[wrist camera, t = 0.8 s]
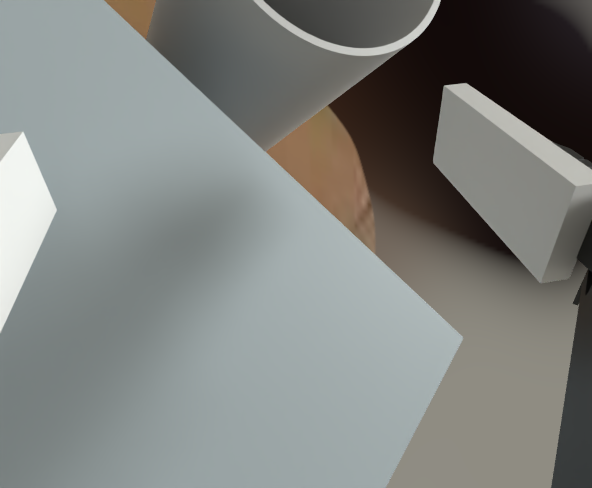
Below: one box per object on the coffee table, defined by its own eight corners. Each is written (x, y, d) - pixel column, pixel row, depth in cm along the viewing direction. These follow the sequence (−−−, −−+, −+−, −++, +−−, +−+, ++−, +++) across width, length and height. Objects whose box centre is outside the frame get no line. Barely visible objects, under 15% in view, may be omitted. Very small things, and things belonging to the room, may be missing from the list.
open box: (-131, 265, 32) (-590, 211, 10) (33, 117, 37) (-39, -133, 15) (172, 460, 39) (287, 676, 17) (274, 314, 44) (463, 337, 22)
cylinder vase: (182, 20, 43) (294, -279, 20) (287, 107, 47) (479, -64, 24) (101, 120, 39) (128, -111, 17) (222, 206, 43) (378, 113, 20)
